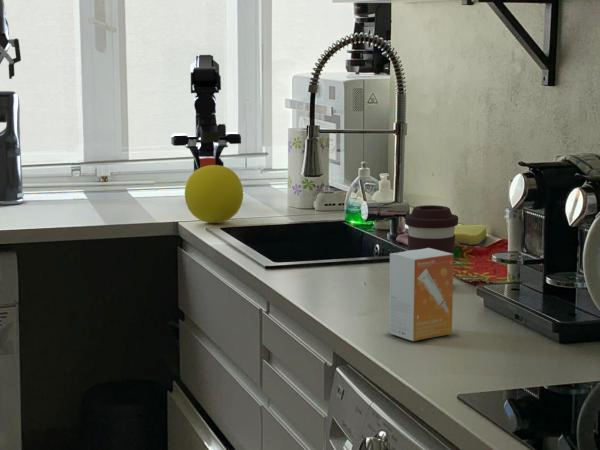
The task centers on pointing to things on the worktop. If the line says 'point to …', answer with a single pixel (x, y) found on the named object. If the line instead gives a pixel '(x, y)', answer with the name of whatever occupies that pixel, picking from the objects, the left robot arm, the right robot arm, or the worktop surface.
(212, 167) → the toy
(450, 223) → the coffee cup
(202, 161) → the red block
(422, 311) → the small box
